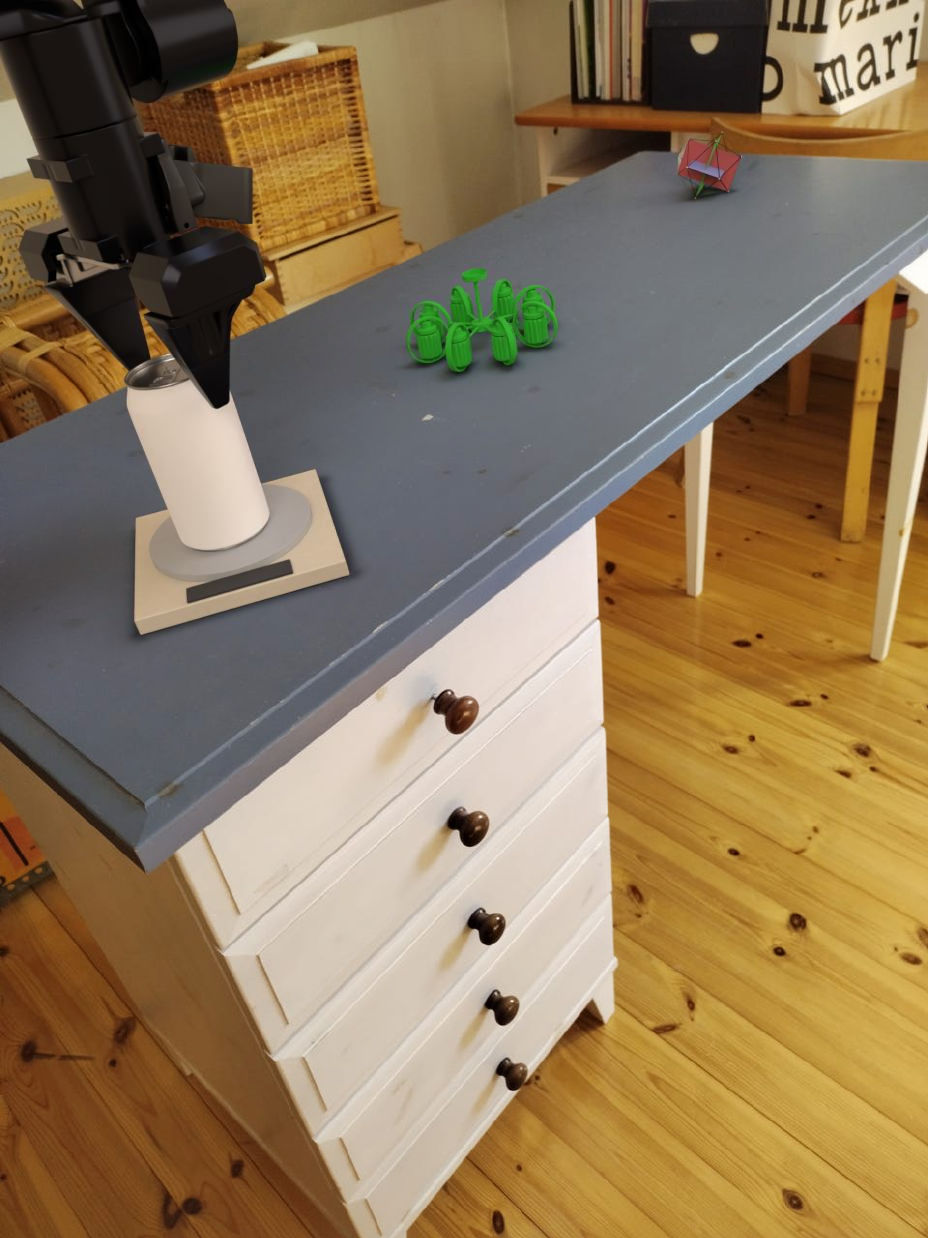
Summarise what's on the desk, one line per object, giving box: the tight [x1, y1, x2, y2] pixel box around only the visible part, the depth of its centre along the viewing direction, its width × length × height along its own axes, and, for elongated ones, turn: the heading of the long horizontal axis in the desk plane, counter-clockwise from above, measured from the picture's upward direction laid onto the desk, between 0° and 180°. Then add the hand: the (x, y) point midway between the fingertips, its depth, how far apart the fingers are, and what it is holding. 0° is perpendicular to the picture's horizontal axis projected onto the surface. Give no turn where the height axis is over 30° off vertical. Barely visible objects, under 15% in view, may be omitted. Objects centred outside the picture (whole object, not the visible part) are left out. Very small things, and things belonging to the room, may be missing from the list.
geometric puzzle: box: [676, 131, 743, 200], centre depth 116 cm, size 7×7×8 cm
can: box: [123, 352, 269, 552], centre depth 63 cm, size 6×6×12 cm
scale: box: [133, 468, 350, 635], centre depth 67 cm, size 14×14×2 cm
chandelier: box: [405, 267, 559, 373], centre depth 88 cm, size 15×15×7 cm
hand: (182, 391), depth 61 cm, fingers open, 9 cm apart
